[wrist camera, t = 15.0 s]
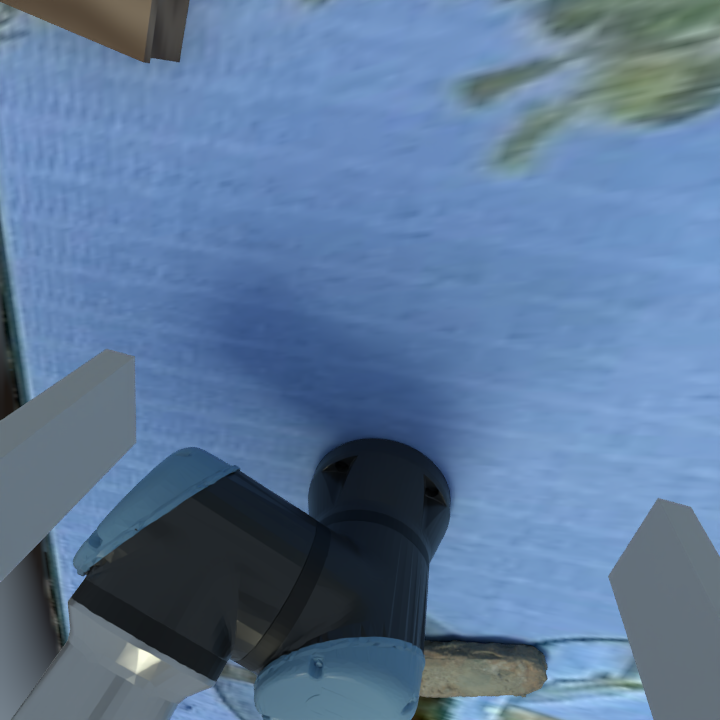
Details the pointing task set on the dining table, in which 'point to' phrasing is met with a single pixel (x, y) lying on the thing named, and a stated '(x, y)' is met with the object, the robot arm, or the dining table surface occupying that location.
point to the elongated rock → (481, 669)
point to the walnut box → (118, 23)
